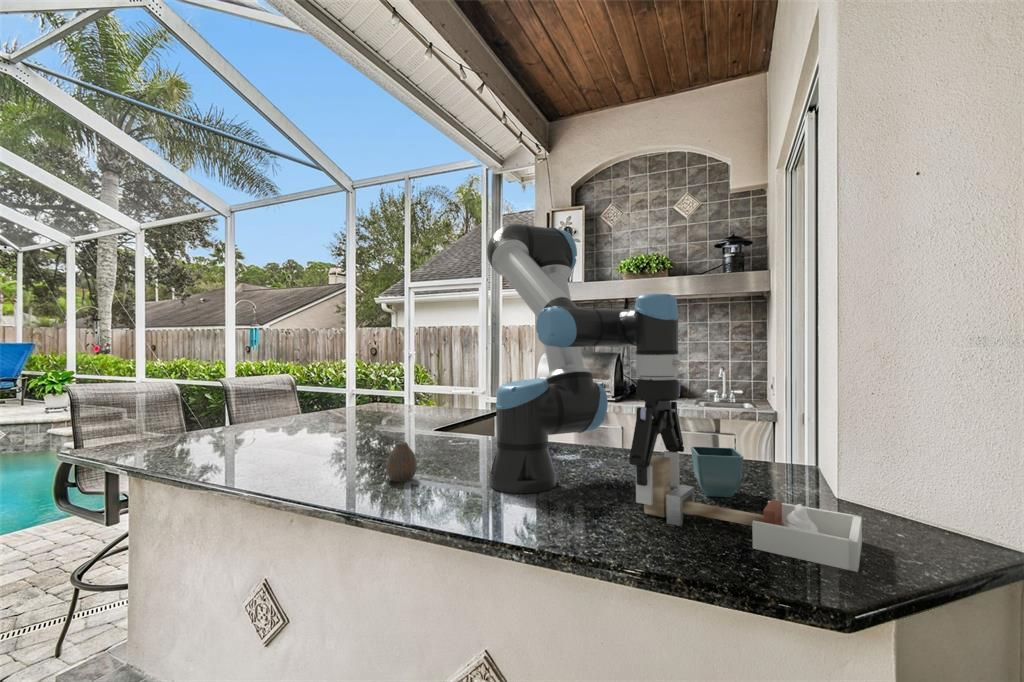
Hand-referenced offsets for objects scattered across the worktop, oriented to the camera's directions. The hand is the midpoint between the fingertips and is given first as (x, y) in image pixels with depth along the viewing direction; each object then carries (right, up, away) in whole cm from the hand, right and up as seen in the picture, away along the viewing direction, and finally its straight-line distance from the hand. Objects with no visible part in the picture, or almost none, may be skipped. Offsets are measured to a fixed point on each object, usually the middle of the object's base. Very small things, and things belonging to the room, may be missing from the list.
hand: (658, 494), depth 89 cm
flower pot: (+16, -4, +12) cm, 20 cm away
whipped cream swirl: (+18, -4, -14) cm, 23 cm away
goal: (+19, -3, -15) cm, 24 cm away
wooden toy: (+7, -3, -5) cm, 9 cm away
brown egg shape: (-53, -5, +25) cm, 59 cm away
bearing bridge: (+3, -4, -3) cm, 5 cm away
